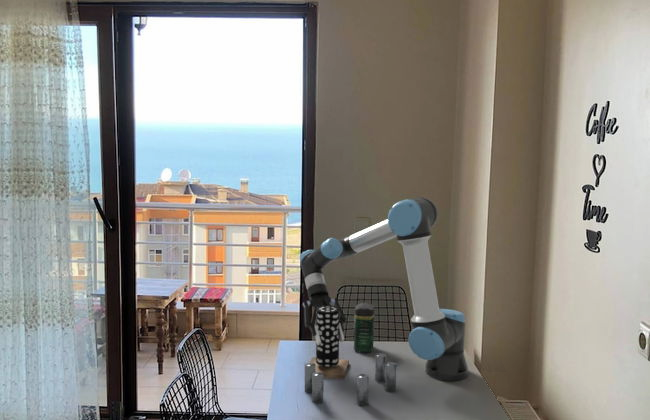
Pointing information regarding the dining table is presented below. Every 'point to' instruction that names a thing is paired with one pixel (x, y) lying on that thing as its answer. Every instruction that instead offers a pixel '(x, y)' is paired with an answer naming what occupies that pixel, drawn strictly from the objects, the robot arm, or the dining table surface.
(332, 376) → the square wooden board
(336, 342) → the spotted tube
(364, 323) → the coffee jar
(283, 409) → the dining table surface
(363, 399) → the spacer posts
